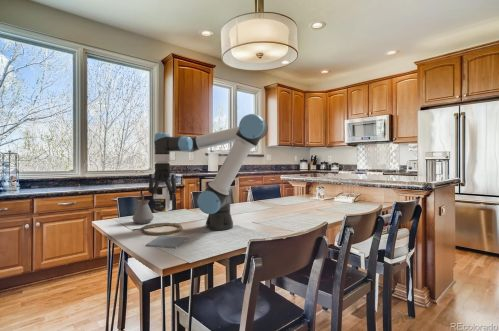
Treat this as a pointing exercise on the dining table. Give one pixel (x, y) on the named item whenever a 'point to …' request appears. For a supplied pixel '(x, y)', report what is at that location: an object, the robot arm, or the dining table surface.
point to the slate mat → (167, 241)
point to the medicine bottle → (161, 200)
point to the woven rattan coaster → (161, 232)
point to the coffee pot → (143, 212)
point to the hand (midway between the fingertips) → (162, 206)
